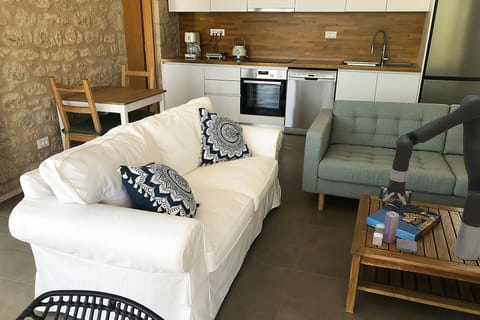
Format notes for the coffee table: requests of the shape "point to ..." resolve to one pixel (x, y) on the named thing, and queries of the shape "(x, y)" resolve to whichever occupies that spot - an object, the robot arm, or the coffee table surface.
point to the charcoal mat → (406, 245)
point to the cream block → (377, 239)
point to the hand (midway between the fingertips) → (392, 209)
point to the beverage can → (390, 227)
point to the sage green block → (379, 228)
